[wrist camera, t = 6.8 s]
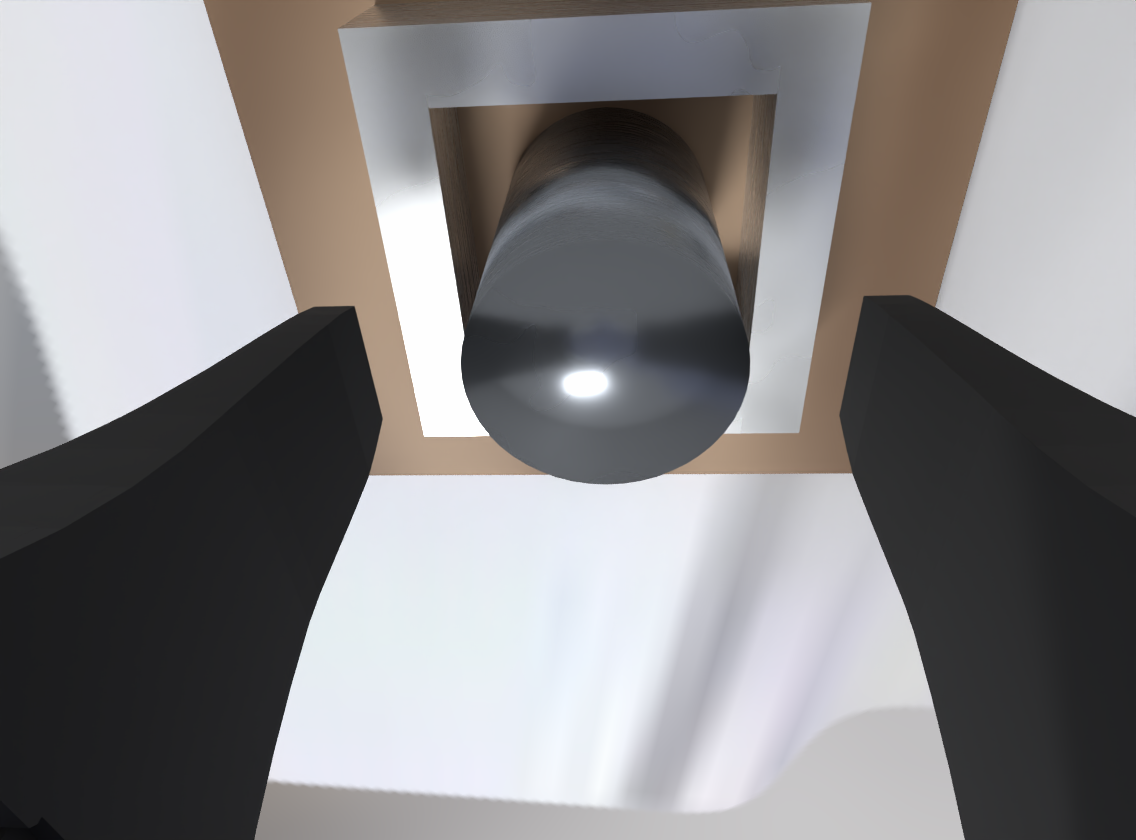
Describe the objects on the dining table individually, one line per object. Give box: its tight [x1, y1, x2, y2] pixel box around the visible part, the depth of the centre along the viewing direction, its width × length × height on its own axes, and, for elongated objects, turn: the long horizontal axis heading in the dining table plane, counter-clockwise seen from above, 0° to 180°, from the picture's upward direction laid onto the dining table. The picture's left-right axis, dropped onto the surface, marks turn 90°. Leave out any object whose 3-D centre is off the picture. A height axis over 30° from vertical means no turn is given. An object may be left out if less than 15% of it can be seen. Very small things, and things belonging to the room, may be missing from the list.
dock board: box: [203, 0, 1018, 475], centre depth 16 cm, size 14×14×1 cm
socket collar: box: [338, 0, 872, 436], centre depth 14 cm, size 8×8×2 cm
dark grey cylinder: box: [460, 107, 750, 484], centre depth 13 cm, size 4×4×6 cm
